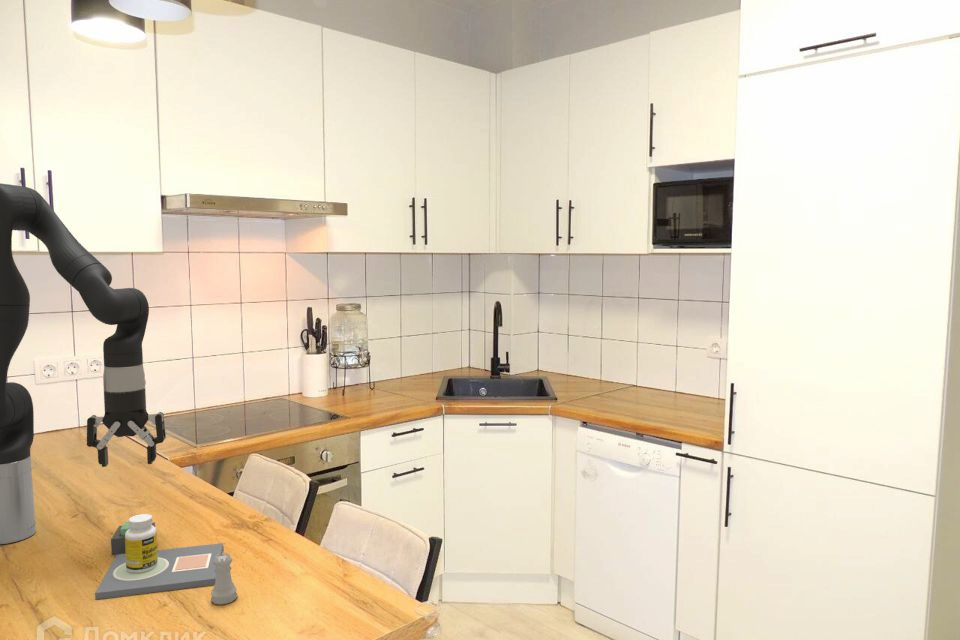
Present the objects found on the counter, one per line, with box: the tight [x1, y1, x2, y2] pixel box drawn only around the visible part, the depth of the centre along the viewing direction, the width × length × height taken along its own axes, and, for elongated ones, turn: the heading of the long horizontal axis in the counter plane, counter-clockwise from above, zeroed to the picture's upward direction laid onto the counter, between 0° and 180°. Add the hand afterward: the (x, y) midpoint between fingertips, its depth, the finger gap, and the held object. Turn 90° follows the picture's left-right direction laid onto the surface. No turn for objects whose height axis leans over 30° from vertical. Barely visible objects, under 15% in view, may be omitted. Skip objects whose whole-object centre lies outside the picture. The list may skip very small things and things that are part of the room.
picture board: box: [94, 542, 225, 601], centre depth 131 cm, size 20×16×1 cm
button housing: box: [110, 521, 156, 557], centre depth 143 cm, size 7×7×4 cm
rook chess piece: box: [210, 552, 238, 606], centre depth 121 cm, size 4×4×8 cm
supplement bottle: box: [125, 513, 158, 573], centre depth 130 cm, size 5×5×10 cm
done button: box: [120, 521, 130, 536], centre depth 142 cm, size 4×4×2 cm
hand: (128, 464), depth 140 cm, fingers open, 8 cm apart
